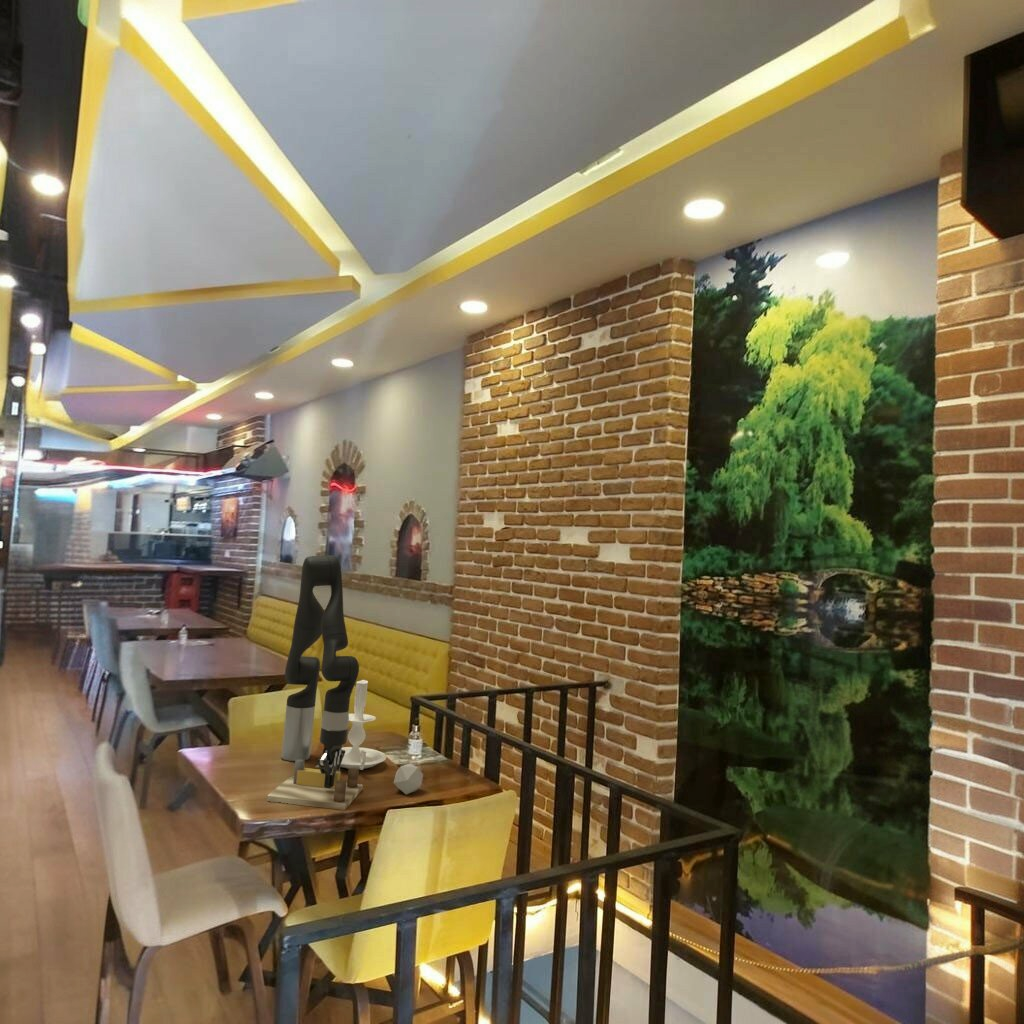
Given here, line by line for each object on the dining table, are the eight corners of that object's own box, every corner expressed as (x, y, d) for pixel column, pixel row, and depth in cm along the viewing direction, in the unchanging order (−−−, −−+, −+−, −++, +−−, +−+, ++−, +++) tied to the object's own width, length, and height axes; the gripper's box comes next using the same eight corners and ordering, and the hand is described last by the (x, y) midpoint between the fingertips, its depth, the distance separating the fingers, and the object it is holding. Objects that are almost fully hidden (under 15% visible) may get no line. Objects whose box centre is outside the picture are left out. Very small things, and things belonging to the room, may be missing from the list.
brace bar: (291, 783, 219) (293, 761, 219) (295, 780, 222) (297, 758, 222) (336, 788, 218) (338, 766, 218) (339, 785, 221) (341, 763, 221)
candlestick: (329, 780, 230) (338, 687, 232) (317, 757, 253) (325, 673, 254) (395, 778, 238) (403, 688, 239) (377, 755, 261) (385, 674, 262)
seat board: (290, 781, 226) (292, 759, 226) (362, 789, 224) (364, 767, 224) (266, 801, 208) (269, 777, 208) (344, 810, 206) (347, 785, 206)
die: (425, 797, 224) (430, 765, 230) (407, 787, 219) (412, 755, 225) (404, 801, 228) (409, 770, 234) (386, 791, 222) (391, 759, 229)
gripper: (333, 719, 224) (327, 779, 223) (311, 729, 211) (305, 791, 210) (356, 723, 222) (350, 783, 221) (336, 732, 209) (329, 796, 208)
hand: (328, 787), depth 216 cm, fingers closed
